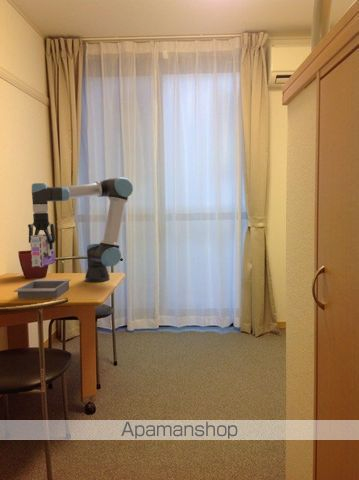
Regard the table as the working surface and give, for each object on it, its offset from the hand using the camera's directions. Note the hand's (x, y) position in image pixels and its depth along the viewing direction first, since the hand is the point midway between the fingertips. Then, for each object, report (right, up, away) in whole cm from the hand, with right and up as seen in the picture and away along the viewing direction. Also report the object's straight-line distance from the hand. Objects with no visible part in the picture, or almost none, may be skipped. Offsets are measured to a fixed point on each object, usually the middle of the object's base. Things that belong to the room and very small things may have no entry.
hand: (43, 255), depth 200 cm
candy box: (0, -5, +1) cm, 5 cm away
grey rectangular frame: (0, -21, +2) cm, 21 cm away
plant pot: (-24, -16, +50) cm, 58 cm away
